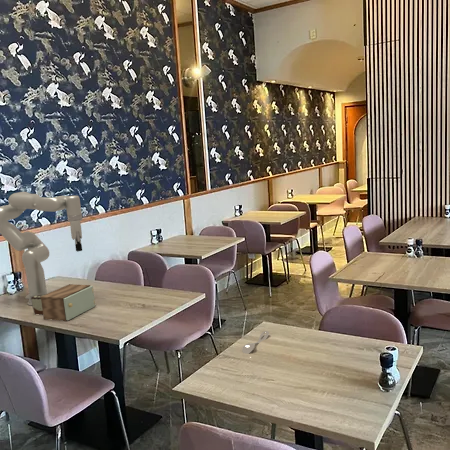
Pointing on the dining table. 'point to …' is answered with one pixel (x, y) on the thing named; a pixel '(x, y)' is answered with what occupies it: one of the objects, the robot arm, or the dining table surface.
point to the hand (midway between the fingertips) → (79, 250)
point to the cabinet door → (79, 302)
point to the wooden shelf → (58, 301)
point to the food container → (37, 303)
